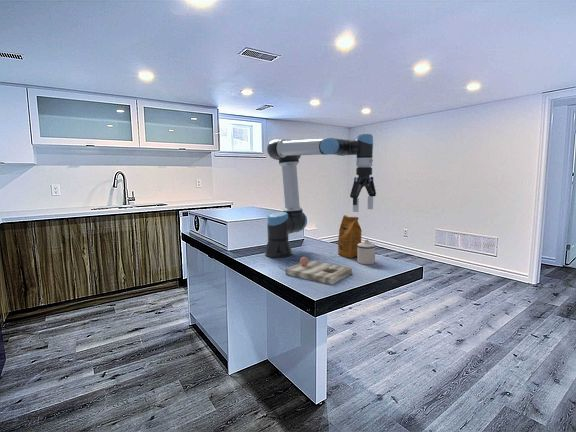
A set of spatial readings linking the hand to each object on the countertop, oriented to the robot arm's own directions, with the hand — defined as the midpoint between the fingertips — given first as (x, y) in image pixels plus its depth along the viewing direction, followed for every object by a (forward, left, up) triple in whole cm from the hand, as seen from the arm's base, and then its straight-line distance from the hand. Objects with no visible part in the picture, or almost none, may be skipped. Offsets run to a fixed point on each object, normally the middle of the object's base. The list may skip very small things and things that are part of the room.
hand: (363, 210), depth 157 cm
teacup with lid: (0, +3, -27) cm, 27 cm away
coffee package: (-12, +10, -27) cm, 31 cm away
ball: (-17, -27, -24) cm, 40 cm away
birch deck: (-9, -27, -27) cm, 39 cm away
